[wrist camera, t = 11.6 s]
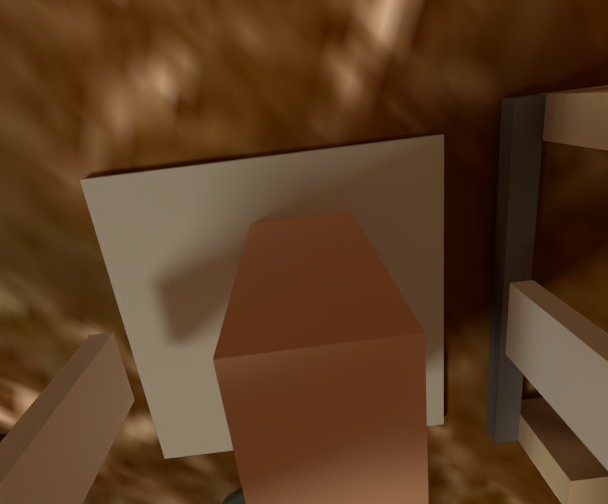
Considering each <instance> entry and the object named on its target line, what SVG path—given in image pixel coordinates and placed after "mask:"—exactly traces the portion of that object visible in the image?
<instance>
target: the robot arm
mask: <svg viewBox="0 0 608 504" xmlns="http://www.w3.org/2000/svg"><path fill="white" fill-rule="evenodd" d="M506 355H507V356H508V357H509V359H510V360H511V361H512V362H513V363H514V364H515V365H516V367H517V368H518V369H519V370H520V371H521V372H522V373H523V375H524V376H525V377H526V378H527V379H528V380H529V381H530V383H531V384H532V385H533V386H534V387H535V388H536V389H537V391H538V392H539V393H540V394H541V395H542V396H543V397H544V399H545V400H546V401H547V402H548V403H549V404H550V405H551V407H552V408H553V409H554V410H555V411H556V412H557V414H558V415H559V416H560V417H561V418H562V419H563V420H564V422H565V423H566V424H567V425H568V426H569V427H570V428H571V430H572V431H573V432H574V433H575V434H576V435H577V436H578V438H579V439H580V440H581V441H582V442H583V443H584V444H585V446H586V447H587V448H588V449H589V450H590V451H591V452H592V454H593V455H594V456H595V457H596V458H597V459H598V460H599V462H600V463H601V464H602V465H603V466H604V467H605V468H606V470H607V471H608V334H607V333H606V332H605V331H603V330H602V329H601V328H599V327H598V326H596V325H595V324H594V323H592V322H591V321H589V320H588V319H587V318H585V317H584V316H582V315H581V314H580V313H578V312H577V311H575V310H574V309H573V308H571V307H570V306H568V305H567V304H566V303H564V302H563V301H562V300H560V299H559V298H557V297H556V296H555V295H553V294H552V293H550V292H549V291H548V290H546V289H545V288H543V287H542V286H541V285H539V284H538V283H536V282H535V281H534V280H529V281H521V282H513V283H510V290H509V306H508V322H507V338H506ZM133 402H134V397H133V394H132V391H131V387H130V384H129V381H128V378H127V375H126V372H125V369H124V365H123V362H122V359H121V356H120V353H119V350H118V346H117V343H116V340H115V337H114V334H113V332H111V333H103V334H95V335H89V337H88V338H87V339H86V340H85V341H84V343H83V344H82V345H81V346H80V347H79V349H78V350H77V351H76V352H75V353H74V355H73V356H72V357H71V358H70V359H69V361H68V362H67V363H66V364H65V365H64V367H63V368H62V369H61V370H60V371H59V373H58V374H57V375H56V376H55V377H54V379H53V380H52V381H51V382H50V383H49V384H48V386H47V387H46V388H45V389H44V390H43V392H42V393H41V394H40V395H39V396H38V398H37V399H36V400H35V401H34V402H33V404H32V405H31V406H30V407H29V408H28V410H27V411H26V412H25V413H24V414H23V416H22V417H21V418H20V419H19V420H18V422H17V423H16V424H15V425H14V426H13V428H12V429H11V430H10V431H9V432H8V434H0V504H83V502H84V500H85V498H86V496H87V494H88V492H89V490H90V488H91V486H92V484H93V482H94V480H95V478H96V476H97V474H98V472H99V470H100V468H101V466H102V464H103V462H104V460H105V458H106V456H107V454H108V452H109V450H110V448H111V446H112V444H113V442H114V440H115V438H116V436H117V434H118V432H119V430H120V428H121V426H122V424H123V422H124V420H125V418H126V416H127V414H128V412H129V410H130V408H131V406H132V404H133Z"/></svg>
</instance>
